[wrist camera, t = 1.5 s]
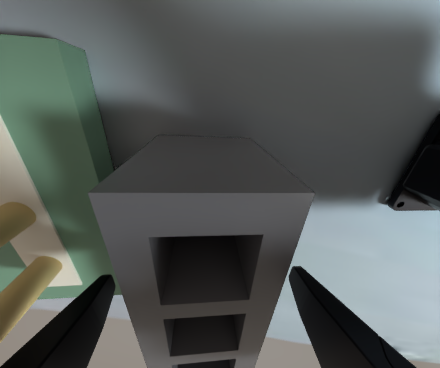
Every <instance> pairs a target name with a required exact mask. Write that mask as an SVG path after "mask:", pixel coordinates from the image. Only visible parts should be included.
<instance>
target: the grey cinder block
mask: <svg viewBox="0 0 440 368" xmlns="http://www.w3.org/2000/svg"><path fill="white" fill-rule="evenodd" d="M88 195H89V198H90V201H91V204H92V207H93V210H94V213H95V216H96V219H97V222H98V225H99V228H100V231H101V233H102V236H103V239H104V242H105V245H106V248H107V251H108V254H109V257H110V260H111V263H112V266H113V269H114V272H115V275H116V278H117V281H118V284H119V286H120V289H121V292H122V295H123V298H124V301H125V304H126V307H127V310H128V313H129V316H130V319H131V322H132V325H133V327H134V331H135V334H136V336H137V339H138V342H139V345H140V348H141V351H142V354H143V357H144V360H145V363H146V365H147V368H255V365H256V362H257V359H258V356H259V353H260V350H261V347H262V344H263V342H264V339H265V336H266V333H267V330H268V327H269V324H270V322H271V319H272V316H273V313H274V310H275V307H276V304H277V301H278V298H279V296H280V293H281V290H282V287H283V284H284V281H285V278H286V275H287V273H288V270H289V267H290V264H291V261H292V258H293V255H294V252H295V249H296V247H297V244H298V241H299V238H300V235H301V232H302V229H303V226H304V224H305V221H306V218H307V215H308V212H309V209H310V206H311V203H312V200H313V198H314V195H315V193H314V192H313V191H312V190H311V189H309V188H308V187H307V186H306V185H305V184H304V183H302V182H301V181H300V180H299V179H298V178H297V177H295V176H294V175H293V174H292V173H291V172H289V171H288V170H287V169H286V168H285V167H284V166H282V165H281V164H280V163H279V162H278V161H276V160H275V159H274V158H273V157H272V156H271V155H269V154H268V153H267V152H266V151H265V150H263V149H262V148H261V147H260V146H259V145H258V144H256V143H255V142H254V141H253V140H252V139H250V138H231V137H202V136H174V135H158V136H157V137H156V138H154V139H153V140H152V141H151V142H149V143H148V144H147V145H146V146H144V147H143V148H142V149H141V150H140V151H138V152H137V153H136V154H135V155H133V156H132V157H131V158H130V159H129V160H127V161H126V162H125V163H124V164H122V165H121V166H120V167H119V168H117V169H116V170H115V171H114V172H113V173H111V174H110V175H109V176H108V177H106V178H105V179H104V180H103V181H101V182H100V183H99V184H98V185H97V186H95V187H94V188H93V189H92V190H90V191H89V192H88Z"/></svg>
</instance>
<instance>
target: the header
mask: <svg viewBox="0 0 440 368" xmlns="http://www.w3.org/2000/svg"><path fill="white" fill-rule="evenodd" d="M113 172H114V169H113V165H112V161H111V157H110V153H109V149H108V144H107V140H106V136H105V132H104V128H103V124H102V120H101V116H100V112H99V108H98V103H97V99H96V95H95V91H94V87H93V83H92V79H91V75H90V71H89V67H88V63H87V58H86V54H85V50H82V49H80V48H77V47H75V46H72V45H70V44H68V43H65V42H63V41H60V40H58V39H51V38H39V37H28V36H16V35H5V34H0V343H1V342H2V341H3V339H4V338H5V337H6V336H7V334H8V333H9V332H10V331H11V330H12V328H13V327H14V326H15V325H16V324H17V322H18V321H19V320H20V319H21V318H22V316H23V315H24V314H25V313H26V311H27V310H28V309H29V308H30V307H31V306H32V304H33V303H34V302H35V301H36V300H37V299H53V298H71V297H78V296H79V295H80V294H81V293H82V292H83V291H84V290H85V289H86V288H88V287H89V286H90V285H91V284H92V283H93V282H94V281H95V280H96V279H97V278H99V277H100V276H101V275H104V274H111V275H112V276H113V279H114V282H115V285H116V287H115V292H114V295H122V292H121V289H120V286H119V284H118V281H117V278H116V275H115V272H114V269H113V266H112V263H111V260H110V257H109V254H108V251H107V248H106V245H105V242H104V239H103V236H102V233H101V231H100V228H99V225H98V222H97V219H96V216H95V213H94V210H93V207H92V204H91V201H90V198H89V195H88V192H89V191H90V190H92V189H93V188H94V187H95V186H97V185H98V184H99V183H100V182H101V181H103V180H104V179H105V178H106V177H108V176H109V175H110V174H111V173H113Z"/></svg>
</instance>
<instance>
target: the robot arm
mask: <svg viewBox="0 0 440 368" xmlns="http://www.w3.org/2000/svg"><path fill="white" fill-rule="evenodd" d="M388 206H389V207H390V208H392V209H393V210H396V211H414V210H439V211H440V115H439V116H438V117H437V119H436V121H435V122H434V124H433V126H432V128H431V129H430V131H429V133H428V134H427V136H426V138H425V140H424V141H423V143H422V145H421V146H420V148H419V150H418V152H417V153H416V155H415V157H414V158H413V160H412V162H411V164H410V165H409V167H408V169H407V170H406V172H405V174H404V176H403V177H402V179H401V181H400V182H399V184H398V186H397V188H396V189H395V191H394V193H393V194H392V196H391V198H390V200H389V201H388ZM289 282H290V285H291V288H292V292H293V295H294V298H295V301H296V305H297V308H298V311H299V314H300V316H301V319H302V322H303V324H304V326H305V329H306V331H307V334H308V336H309V339H310V341H311V344H312V346H313V348H314V351H315V353H316V356H317V358H318V361H319V363H320V366H321V368H416V367H415V366H414V365H413V364H411V363H410V362H409V361H408V360H407V359H406V358H404V357H403V356H402V355H401V354H400V353H399V352H397V351H396V350H395V349H394V348H393V347H392V346H390V345H389V344H388V343H387V342H386V341H385V340H384V339H383V338H381V337H380V336H378V334H377V333H376V332H375V331H373V330H372V329H371V328H370V327H369V326H368V325H367V324H366V323H364V322H363V321H362V320H361V319H360V318H359V317H358V316H356V315H355V314H354V313H353V312H352V311H351V310H350V309H349V308H347V307H346V306H345V305H344V304H343V303H342V302H341V301H340V300H338V299H337V298H336V297H335V296H334V295H333V294H332V293H330V292H329V291H328V290H327V289H326V288H325V287H324V286H323V285H321V284H320V283H319V282H318V281H317V280H316V279H315V278H314V277H312V276H311V275H310V274H309V273H308V272H307V271H306V270H305V269H303V268H302V267H301V266H293V267H292V269H291V272H290V274H289ZM115 287H116V285H115V282H114V279H113V276H112V275H111V274H104V275H101V276H100V277H99V278H97V279H96V280H95V281H94V282H93V283H92V284H91V285H90V286H89V287H88V288H86V289H85V290H84V291H83V292H82V293H81V294H80V295H79V296H78V297H77V298H75V299H74V300H73V301H72V302H71V303H70V304H69V305H68V306H67V307H66V308H64V309H63V310H62V311H61V312H60V313H59V314H58V315H57V316H56V317H55V318H53V319H52V320H51V321H50V322H49V323H48V324H47V325H46V326H45V327H44V328H42V329H41V330H40V331H39V332H38V333H37V334H36V335H35V336H34V337H33V338H32V339H30V340H29V341H28V342H27V343H26V344H25V345H24V346H23V347H22V348H20V349H19V350H18V351H17V352H16V353H15V354H14V355H13V356H12V357H11V358H9V359H8V360H7V361H6V362H5V363H4V364H3V365H2V366H1V367H0V368H87V366H88V363H89V361H90V358H91V356H92V354H93V351H94V349H95V347H96V344H97V342H98V339H99V337H100V334H101V332H102V329H103V327H104V324H105V321H106V317H107V314H108V311H109V308H110V305H111V301H112V298H113V295H114V292H115Z"/></svg>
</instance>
